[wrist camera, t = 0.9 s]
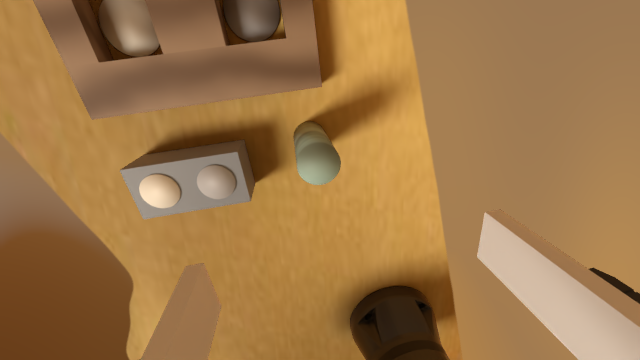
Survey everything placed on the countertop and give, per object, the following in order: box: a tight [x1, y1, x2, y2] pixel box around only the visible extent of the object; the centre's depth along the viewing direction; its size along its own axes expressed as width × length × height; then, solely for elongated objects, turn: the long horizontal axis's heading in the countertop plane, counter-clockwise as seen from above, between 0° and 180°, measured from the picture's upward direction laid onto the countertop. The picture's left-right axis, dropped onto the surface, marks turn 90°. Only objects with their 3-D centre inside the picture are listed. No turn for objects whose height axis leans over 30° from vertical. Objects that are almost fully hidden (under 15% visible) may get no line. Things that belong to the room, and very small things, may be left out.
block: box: [120, 140, 255, 219], centre depth 30 cm, size 6×12×5 cm, turn 97°
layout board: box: [33, 0, 322, 120], centre depth 25 cm, size 16×24×2 cm, turn 97°
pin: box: [294, 121, 341, 185], centre depth 28 cm, size 4×4×10 cm
